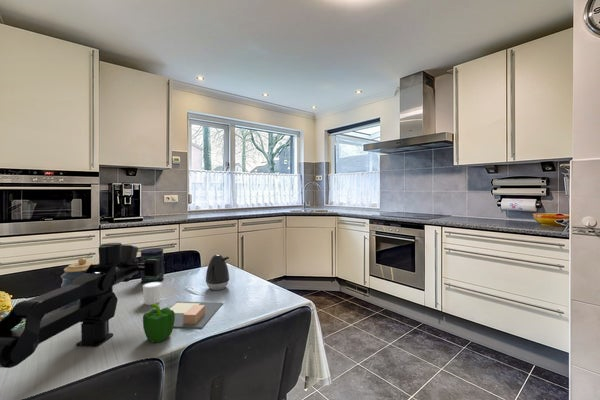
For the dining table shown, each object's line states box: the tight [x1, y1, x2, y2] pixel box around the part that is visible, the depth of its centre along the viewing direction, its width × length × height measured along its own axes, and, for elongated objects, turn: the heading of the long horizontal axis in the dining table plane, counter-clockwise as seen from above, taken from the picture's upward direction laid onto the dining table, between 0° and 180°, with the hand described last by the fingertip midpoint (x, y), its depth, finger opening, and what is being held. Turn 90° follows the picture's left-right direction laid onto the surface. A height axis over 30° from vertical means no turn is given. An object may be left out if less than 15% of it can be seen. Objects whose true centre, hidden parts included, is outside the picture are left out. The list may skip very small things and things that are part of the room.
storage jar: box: [140, 247, 165, 285], centre depth 138 cm, size 10×10×15 cm
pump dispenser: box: [205, 254, 230, 291], centre depth 128 cm, size 10×10×15 cm
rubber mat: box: [168, 301, 224, 329], centre depth 101 cm, size 20×18×1 cm
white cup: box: [142, 282, 163, 306], centre depth 112 cm, size 7×7×7 cm
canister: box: [60, 257, 100, 310], centre depth 111 cm, size 13×13×18 cm
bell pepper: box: [142, 303, 175, 343], centre depth 85 cm, size 8×8×10 cm
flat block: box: [183, 305, 205, 324], centre depth 97 cm, size 8×4×3 cm, turn 176°
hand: (146, 262), depth 108 cm, fingers open, 9 cm apart
